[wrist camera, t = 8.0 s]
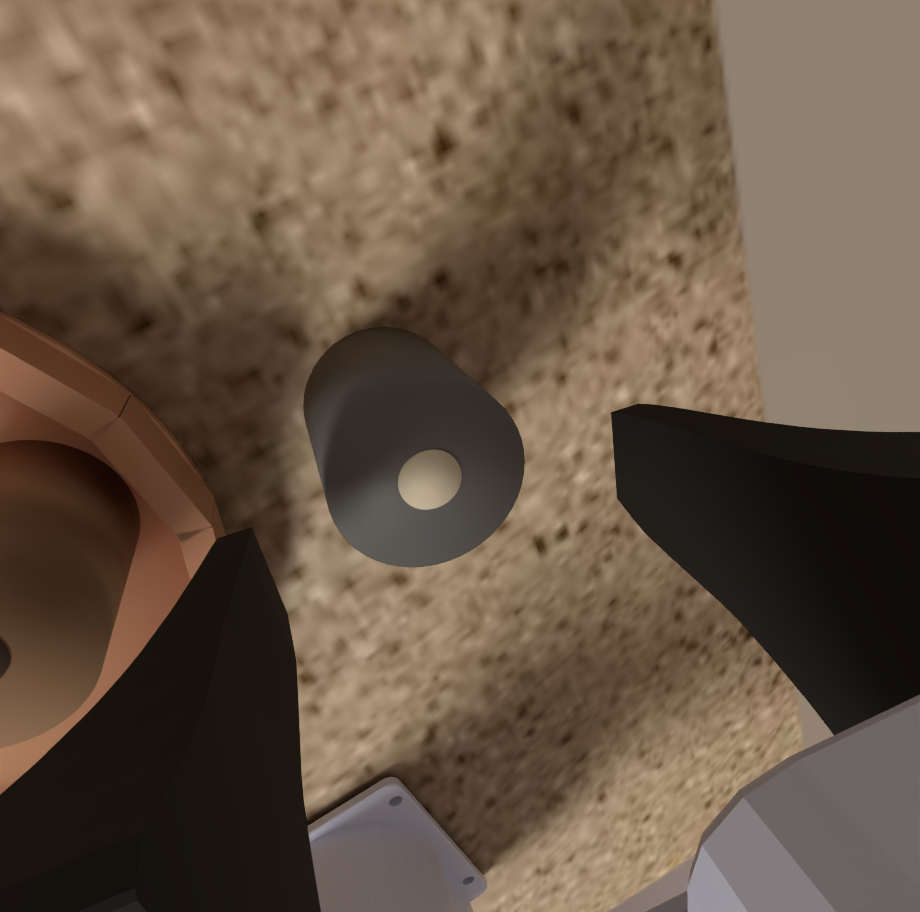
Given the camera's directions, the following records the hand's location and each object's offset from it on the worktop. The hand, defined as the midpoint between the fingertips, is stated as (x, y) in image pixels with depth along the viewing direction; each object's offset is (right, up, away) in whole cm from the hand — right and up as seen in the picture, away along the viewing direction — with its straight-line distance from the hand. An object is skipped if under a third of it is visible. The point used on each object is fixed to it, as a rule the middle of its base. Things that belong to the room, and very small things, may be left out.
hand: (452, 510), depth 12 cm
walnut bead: (-10, -1, +3) cm, 11 cm away
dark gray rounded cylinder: (-2, +3, +6) cm, 7 cm away
